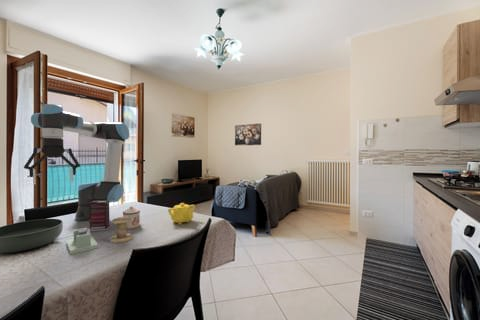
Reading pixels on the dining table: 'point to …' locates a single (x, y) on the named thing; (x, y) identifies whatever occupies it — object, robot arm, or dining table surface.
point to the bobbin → (121, 230)
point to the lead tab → (81, 231)
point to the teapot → (181, 213)
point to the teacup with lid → (132, 217)
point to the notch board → (75, 250)
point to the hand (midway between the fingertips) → (53, 182)
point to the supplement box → (99, 215)
